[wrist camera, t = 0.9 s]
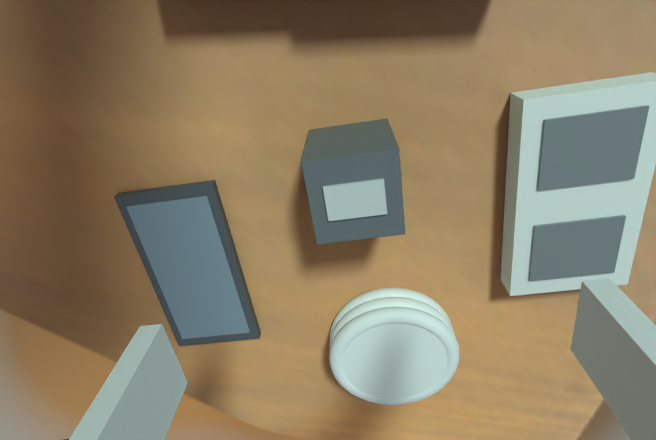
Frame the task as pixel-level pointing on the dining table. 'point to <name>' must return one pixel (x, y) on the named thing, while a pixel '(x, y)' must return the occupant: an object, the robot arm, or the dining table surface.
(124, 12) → the dining table surface
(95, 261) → the dining table surface
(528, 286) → the plate
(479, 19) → the dining table surface
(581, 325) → the robot arm
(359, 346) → the coaster
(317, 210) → the block
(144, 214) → the phone
